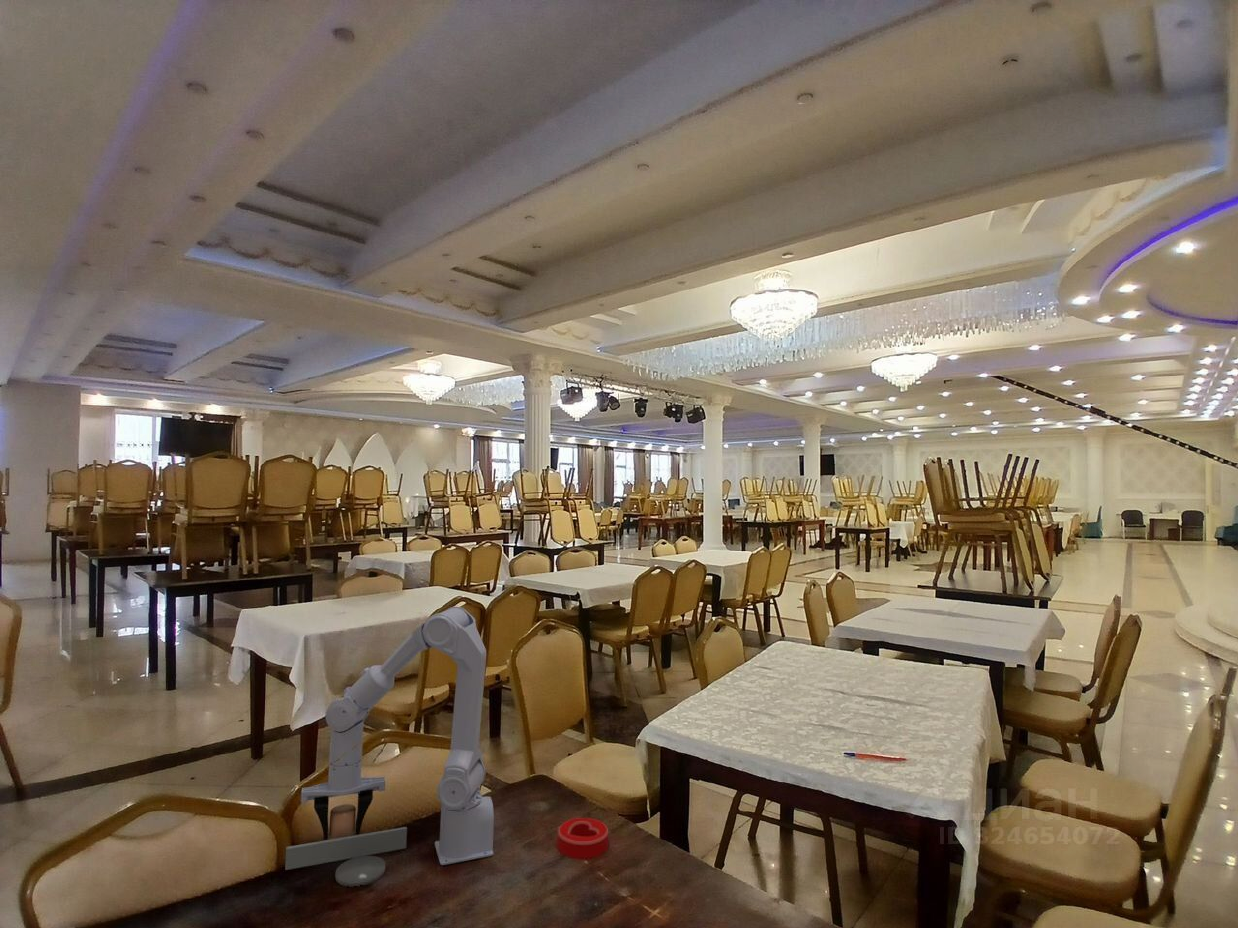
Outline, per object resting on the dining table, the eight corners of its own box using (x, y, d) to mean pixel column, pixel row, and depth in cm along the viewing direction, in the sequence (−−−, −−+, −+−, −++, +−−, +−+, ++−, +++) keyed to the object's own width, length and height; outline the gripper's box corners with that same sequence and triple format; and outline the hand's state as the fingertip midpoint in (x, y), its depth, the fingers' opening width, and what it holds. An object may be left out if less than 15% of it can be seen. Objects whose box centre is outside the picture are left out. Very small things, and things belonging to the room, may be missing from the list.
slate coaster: (383, 856, 116) (383, 852, 116) (386, 880, 108) (386, 875, 109) (335, 865, 113) (335, 860, 113) (335, 890, 105) (335, 885, 105)
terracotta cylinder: (353, 834, 123) (355, 802, 124) (354, 846, 119) (356, 812, 120) (328, 839, 121) (330, 806, 122) (328, 850, 117) (330, 816, 118)
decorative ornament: (546, 849, 120) (547, 832, 120) (577, 828, 128) (578, 812, 128) (588, 866, 115) (588, 847, 115) (617, 843, 123) (618, 826, 123)
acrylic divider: (405, 845, 120) (406, 826, 120) (406, 848, 119) (406, 828, 119) (285, 867, 112) (286, 846, 112) (285, 869, 111) (286, 849, 111)
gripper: (384, 747, 128) (381, 818, 127) (304, 757, 122) (300, 831, 121) (387, 761, 121) (383, 835, 120) (302, 771, 116) (297, 849, 115)
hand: (341, 834), depth 120 cm, fingers open, 5 cm apart
